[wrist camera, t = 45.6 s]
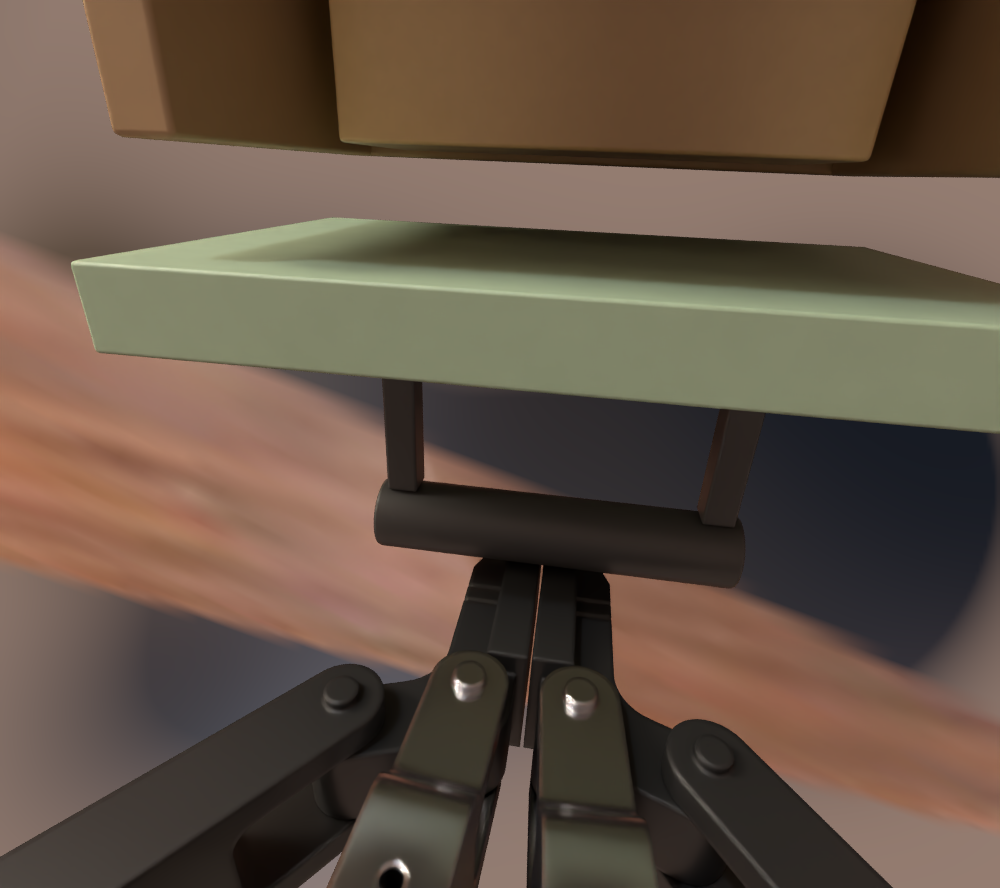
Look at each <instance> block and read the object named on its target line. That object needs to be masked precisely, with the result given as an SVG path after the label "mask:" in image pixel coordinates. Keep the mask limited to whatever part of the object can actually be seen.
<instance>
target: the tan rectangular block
mask: <svg viewBox="0 0 1000 888" xmlns="http://www.w3.org/2000/svg"><path fill="white" fill-rule="evenodd" d="M916 1H917V0H329V10H330V23H331V36H332V49H333V61H334V74H335V87H336V100H337V113H338V125H339V137H340V140H341V141H343V142H345V143H353V144H360V145H368V146H376V147H384V148H392V149H400V150H411V151H437V152H463V153H489V154H514V155H540V156H566V157H592V158H618V159H644V160H669V161H695V162H721V163H747V164H773V165H806V164H828V163H851V162H865V161H867V160H869V158H870V157H871V154H872V151H873V147H874V144H875V141H876V137H877V134H878V130H879V127H880V124H881V120H882V117H883V113H884V110H885V107H886V103H887V100H888V96H889V93H890V90H891V86H892V83H893V79H894V76H895V73H896V69H897V66H898V62H899V59H900V56H901V52H902V49H903V45H904V42H905V39H906V35H907V32H908V28H909V25H910V22H911V18H912V15H913V11H914V8H915V5H916Z"/></svg>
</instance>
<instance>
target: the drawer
mask: <svg viewBox="0 0 1000 888" xmlns="http://www.w3.org/2000/svg"><path fill="white" fill-rule="evenodd" d="M83 5H84V9H85V13H86V17H87V22H88V26H89V30H90V34H91V39H92V43H93V47H94V52H95V56H96V60H97V65H98V69H99V73H100V78H101V82H102V86H103V90H104V95H105V99H106V103H107V108H108V112H109V116H110V120H111V125H112V129H113V130H114V132H115V133H116V134H118V135H120V136H122V137H128V138H129V137H130V138H142V139H154V140H166V141H179V142H192V143H205V144H217V145H230V146H243V147H256V148H269V149H281V150H294V151H308V152H319V153H332V154H345V155H361V156H385V157H408V158H431V159H456V160H478V161H479V160H480V161H503V162H526V163H549V164H574V165H598V166H621V167H644V168H667V169H691V170H715V171H738V172H762V173H785V174H809V175H833V176H873V177H875V176H877V177H983V178H984V177H985V178H991V177H992V178H1000V0H917V1H916V5H915V8H914V11H913V15H912V18H911V22H910V25H909V28H908V32H907V35H906V39H905V42H904V45H903V49H902V52H901V56H900V59H899V62H898V66H897V69H896V73H895V76H894V79H893V83H892V86H891V90H890V93H889V96H888V100H887V103H886V107H885V110H884V113H883V117H882V120H881V124H880V127H879V130H878V134H877V137H876V141H875V144H874V147H873V151H872V154H871V157H870V158H869V160H867V161H865V162H851V163H828V164H806V165H773V164H747V163H721V162H695V161H669V160H644V159H618V158H592V157H566V156H540V155H514V154H489V153H463V152H437V151H411V150H400V149H392V148H384V147H376V146H368V145H360V144H353V143H345V142H343V141H341V140H340V137H339V125H338V113H337V100H336V87H335V74H334V61H333V49H332V36H331V23H330V10H329V0H83ZM71 267H72V271H73V274H74V278H75V281H76V285H77V288H78V292H79V295H80V299H81V302H82V305H83V309H84V312H85V316H86V319H87V323H88V326H89V330H90V333H91V337H92V340H93V344H94V347H95V350H96V351H97V352H99V353H107V354H118V355H129V356H140V357H151V358H162V359H173V360H184V361H196V362H207V363H218V364H229V365H240V366H251V367H262V368H273V369H285V370H296V371H307V372H318V373H329V374H340V375H351V376H362V377H374V378H382V385H383V402H384V421H385V438H386V456H387V474H388V479H386V480H385V481H384V483H383V484H382V486H381V489H380V491H379V494H378V497H377V501H376V506H375V512H374V533H375V537H376V540H377V542H378V543H379V544H381V545H386V546H394V547H402V548H410V549H418V550H426V551H434V552H442V553H450V554H458V555H466V556H474V557H482V558H490V559H498V560H506V561H514V562H522V563H530V564H538V565H546V566H554V567H561V568H569V569H577V570H585V571H593V572H601V573H609V574H617V575H625V576H633V577H641V578H649V579H657V580H665V581H673V582H681V583H689V584H697V585H705V586H713V587H721V588H733V587H735V586H736V585H737V584H738V582H739V580H740V577H741V574H742V571H743V566H744V560H745V537H744V530H743V526H742V523H741V521H740V520H739V518H738V513H739V510H740V506H741V502H742V498H743V495H744V491H745V487H746V484H747V480H748V476H749V473H750V469H751V465H752V461H753V458H754V454H755V450H756V447H757V443H758V439H759V436H760V432H761V428H762V424H763V421H764V417H765V414H766V413H774V414H785V415H796V416H807V417H818V418H829V419H840V420H852V421H863V422H874V423H885V424H896V425H908V426H919V427H929V428H942V429H952V430H963V431H974V432H986V433H996V434H1000V284H999V283H995V282H991V281H988V280H984V279H980V278H976V277H973V276H969V275H965V274H961V273H958V272H954V271H950V270H947V269H943V268H939V267H936V266H932V265H928V264H925V263H921V262H917V261H913V260H910V259H906V258H902V257H899V256H895V255H891V254H887V253H884V252H880V251H876V250H873V249H869V248H865V247H852V246H833V245H816V244H815V245H814V244H798V243H779V242H761V241H744V240H727V239H708V238H689V237H673V236H655V235H637V234H636V235H635V234H620V233H600V232H584V231H566V230H565V231H564V230H548V229H530V228H512V227H494V226H477V225H459V224H441V223H422V222H405V221H386V220H370V219H352V218H333V217H332V218H326V219H320V220H315V221H308V222H302V223H296V224H290V225H285V226H278V227H272V228H266V229H260V230H255V231H248V232H243V233H237V234H231V235H225V236H219V237H213V238H207V239H201V240H195V241H189V242H183V243H177V244H171V245H165V246H159V247H153V248H147V249H141V250H135V251H129V252H123V253H117V254H111V255H105V256H99V257H94V258H87V259H81V260H75V261H73V262H72V263H71ZM422 382H429V383H440V384H452V385H463V386H474V387H485V388H496V389H507V390H518V391H529V392H541V393H551V394H562V395H574V396H585V397H596V398H607V399H618V400H629V401H642V402H651V403H663V404H674V405H685V406H697V407H707V408H719V409H720V411H719V415H718V419H717V424H716V428H715V433H714V437H713V441H712V446H711V450H710V454H709V459H708V463H707V467H706V472H705V476H704V481H703V484H702V489H701V493H700V498H699V502H698V506H697V508H698V511H691V510H682V509H673V508H664V507H655V506H646V505H637V504H628V503H619V502H609V501H601V500H592V499H583V498H574V497H565V496H556V495H547V494H538V493H529V492H520V491H511V490H502V489H493V488H484V487H475V486H466V485H457V484H448V483H439V482H430V481H423V479H424V443H423V400H422Z"/></svg>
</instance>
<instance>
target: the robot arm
mask: <svg viewBox="0 0 1000 888" xmlns="http://www.w3.org/2000/svg"><path fill="white" fill-rule="evenodd" d="M540 573H541V565H538V564H530V563H522V562H514V561H506V560H498V559H490V558H483V559H482V560H480V561H479V562H478V563H477V564H476V565H475V566H474V569H473V572H472V575H471V579H470V582H469V587H468V589H467V592H466V595H465V601H464V602H463V605H462V609H461V612H460V616H459V619H458V622H457V626H456V629H455V632H454V636H453V639H452V642H451V646H450V649H449V652H448V654H447V656H446V657H444V658H443V659H442V660H441V661H439V662H438V663H437V665H436V666H435V667H434V669H433V671H432V672H431V673H429V674H428V675H426V676H423V677H421V678H418V679H415V680H410V681H404V682H397V683H389V684H383V683H382V681H381V679H380V677H379V676H378V675H377V674H376V673H375V672H374V671H373V670H371V669H370V668H368V667H365V666H362V665H357V664H343V665H338V666H334V667H331V668H329V669H326V670H324V671H323V672H321V673H319V674H317V675H315V676H314V677H312V678H310V679H309V680H307V681H305V682H304V683H302V684H300V685H298V686H296V687H295V688H293V689H291V690H289V691H288V692H286V693H284V694H282V695H281V696H279V697H277V698H275V699H274V700H272V701H270V702H269V703H267V704H265V705H263V706H262V707H260V708H258V709H256V710H255V711H253V712H251V713H249V714H248V715H246V716H245V717H243V718H241V719H239V720H237V721H236V722H234V723H232V724H230V725H229V726H227V727H225V728H223V729H222V730H220V731H218V732H216V733H215V734H213V735H211V736H209V737H208V738H206V739H204V740H203V741H201V742H199V743H197V744H196V745H194V746H192V747H190V748H189V749H187V750H185V751H183V752H182V753H180V754H178V755H176V756H175V757H173V758H171V759H169V760H168V761H166V762H164V763H163V764H161V765H159V766H157V767H156V768H154V769H152V770H150V771H149V772H147V773H145V774H143V775H142V776H140V777H138V778H137V779H135V780H133V781H131V782H129V783H128V784H126V785H124V786H122V787H121V788H119V789H117V790H116V791H114V792H112V793H111V794H109V795H107V796H105V797H103V798H102V799H100V800H98V801H96V802H95V803H93V804H92V805H89V806H88V807H86V808H84V809H83V810H81V811H79V812H77V813H76V814H74V815H72V816H70V817H69V818H67V819H65V820H63V821H62V822H60V823H58V824H57V825H55V826H53V827H51V828H49V829H48V830H46V831H44V832H43V833H41V834H39V835H37V836H36V837H34V838H32V839H30V840H29V841H27V842H25V843H23V844H22V845H20V846H18V847H16V848H15V849H13V850H11V851H9V852H8V853H6V854H4V855H3V856H1V857H0V888H298V887H299V886H301V885H302V884H303V883H304V882H306V881H307V880H308V879H309V878H311V877H312V876H313V875H314V874H315V873H317V872H318V871H319V870H320V869H321V868H323V867H324V866H325V865H326V864H328V863H329V862H330V861H331V860H333V859H334V858H335V857H336V856H338V855H339V854H340V853H341V852H342V853H341V856H340V858H339V860H338V863H337V865H336V867H335V869H334V872H333V874H332V876H331V879H330V881H329V883H328V885H327V888H478V884H479V880H480V875H481V871H482V867H483V861H484V858H485V853H486V848H487V845H488V840H489V835H490V831H491V826H492V822H493V818H494V814H495V809H496V805H497V800H498V796H499V791H500V786H501V780H502V777H503V775H504V773H505V768H506V762H507V755H508V747H509V745H511V746H517V747H520V740H521V732H522V724H523V716H524V708H525V700H526V692H527V684H528V676H529V668H530V660H531V652H532V644H533V636H534V628H535V620H536V612H537V603H538V594H539V584H540ZM524 747H525V748H531V749H533V759H532V770H531V779H530V788H529V811H528V852H527V888H893V887H891V885H890V884H889V883H887V882H886V881H885V880H884V879H883V878H882V877H881V876H880V875H879V874H878V873H877V872H876V871H875V870H874V869H873V868H872V867H871V866H870V865H869V864H868V863H867V862H866V861H865V860H864V859H863V858H862V857H861V856H860V855H859V854H858V853H857V852H856V851H855V850H854V849H853V848H852V847H851V846H850V845H849V844H848V843H847V842H846V841H845V840H844V839H842V837H841V836H839V835H838V833H836V832H835V831H834V830H833V829H832V828H831V827H830V826H829V825H828V824H827V823H826V822H825V821H824V820H823V819H822V818H821V817H820V816H819V815H818V814H817V813H816V812H815V811H814V810H813V809H812V808H811V807H810V806H809V805H808V804H807V803H806V802H805V801H804V800H803V799H802V798H801V797H800V796H799V795H798V794H797V793H796V792H795V791H794V790H793V789H792V788H791V787H790V786H789V785H788V784H787V783H786V782H784V781H783V780H782V779H781V778H780V777H779V776H778V775H777V774H776V773H775V772H774V771H773V770H772V769H771V768H770V767H769V766H768V765H767V764H766V763H765V762H764V761H763V760H762V759H761V758H760V757H759V756H758V755H757V754H756V753H755V752H754V751H753V750H752V749H751V748H750V747H749V746H748V745H747V744H746V743H745V742H744V741H743V740H742V739H740V738H739V737H738V736H737V735H736V734H735V733H733V732H732V731H730V730H729V729H727V728H725V727H724V726H722V725H719V724H717V723H714V722H711V721H707V720H700V719H692V720H687V721H684V722H681V723H679V724H678V725H676V726H675V727H674V728H673V729H671V728H668V727H666V726H664V725H662V724H660V723H657V722H655V721H653V720H651V719H649V718H647V717H645V716H643V715H641V714H640V713H638V712H637V711H635V710H634V709H633V708H632V707H631V706H630V705H629V704H628V703H627V702H626V701H625V700H624V699H623V697H622V696H621V694H620V693H619V691H618V689H617V687H616V684H615V680H614V668H613V646H612V624H611V606H610V584H609V583H608V581H607V579H606V578H605V576H604V575H603V573H601V572H593V571H585V570H577V569H569V568H561V567H554V566H546V565H543V574H542V582H541V590H540V598H539V607H538V615H537V623H536V631H535V639H534V648H533V656H532V665H531V675H530V686H529V696H528V706H527V716H526V726H525V736H524Z"/></svg>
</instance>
